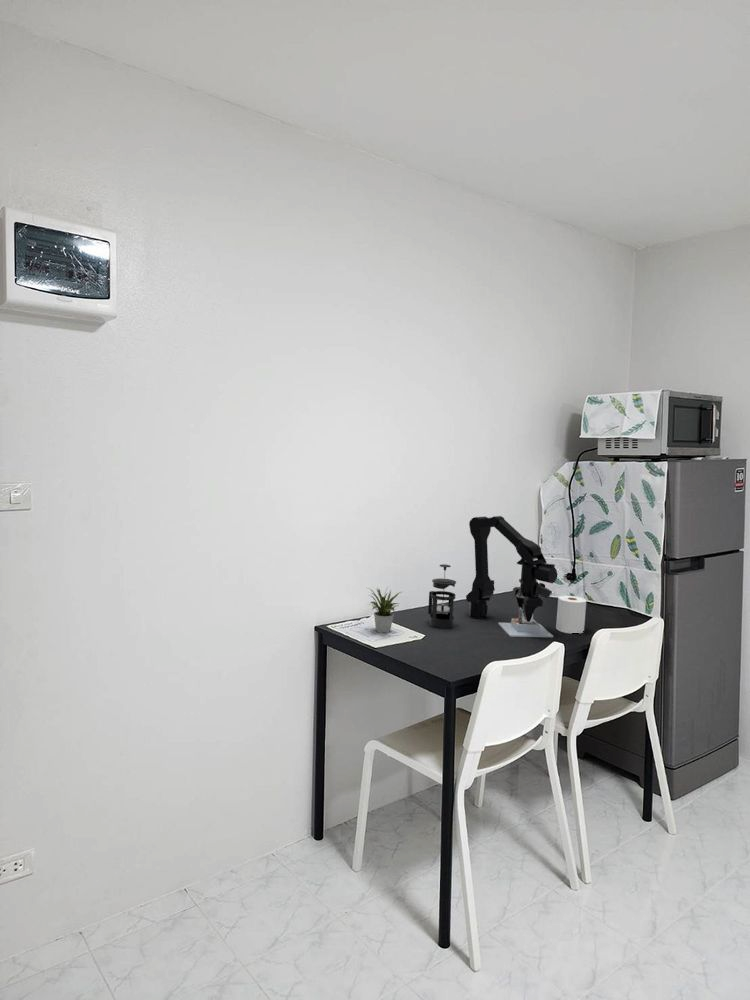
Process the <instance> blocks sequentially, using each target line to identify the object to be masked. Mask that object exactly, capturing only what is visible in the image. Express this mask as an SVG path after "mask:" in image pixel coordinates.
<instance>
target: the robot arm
mask: <svg viewBox="0 0 750 1000" xmlns="http://www.w3.org/2000/svg"><path fill="white" fill-rule="evenodd" d="M468 525H469V532H470V534H471V536H472V538H473V540H474V562H475V577H474V580H473V582H472V585H471V591H470V592H469V593H467V594H466V595H465V598H466V602H469V603H468V612H467V615H468V616H469V617H470V619H487V618H488V617H487V616H488V609H489V608H488V607H489V605H488V604H487V602H489V601H490V600H491V598H492V596H493V595H494V592H495V591H496V589H495V579H491V577H490V576H489V557H488V556H489V554H488V539H489V536H490V534H491V530H492V529H491V528H495V529H496V531H498V532H499V533H500V534H501V535H502V536H503V537H504V538H505V539H507V540H508V541H509V543H510V544H512V545H513V546H514V547H515V550H516V553H517V554H518V556H519V557H520V559H519V560H518V561H517V562H516V565H521V572H520V578H519V579H518V582H519V583H520V586H515V587H514V588H512V595H513V596H514V600H515V601H516V604H517V607H518V609H520V607H523V609H524V612H525V616H526V620H527V622H530V620H531V618H532V615H533V616H534V612H535V610H536V609H537V608H539V607H544V600H543V599H542V598H541V597H543V598H545V599H547V600H549V598H550V596H551V594H552V590H551V589H549V588H547V587H546V584H544V583H549V584H554V583H555V582H556V581H557V578H558V571H557V568H556V564H553V563H547V560H546V558H545V557H544V554H543V552H542V547H541V546H540V545H539V544H537V543H536V542H534V541H533V540H530V539H527V538H525V537H524V536H523V535H522V534H521V533H520V532H519V531H518V530H516V528H514V527H513V526H512V525H511V524H510V523H509V522H508V521H507V520H505V518H504V517H503V516H501V515H496V516H492V517H488V516H475V517H472V518H471V519H470V520H469V523H468ZM538 581H539V582H538ZM543 582H544V583H543ZM540 596H541V597H540Z"/></svg>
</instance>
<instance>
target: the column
mask: <svg viewBox="0 0 750 1000" xmlns="http://www.w3.org/2000/svg"><path fill="white" fill-rule="evenodd" d="M517 611H518V613H517V615H518V617H517V619H518V620H519V624H533V619H534V614H533V615H532V618H531V620H530V622H527V620H526V616H525V612H524V609H523V607H520V609H519V608H518V609H517Z"/></svg>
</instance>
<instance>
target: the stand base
mask: <svg viewBox="0 0 750 1000" xmlns="http://www.w3.org/2000/svg"><path fill="white" fill-rule="evenodd" d="M498 625H499V626H500V627H501V629H502V630H503V631H504V632H505V633H506V634H507V635H508V636H509V637H512V638H513V637H515V638H516V637H517V638H519V637H520V638H523V637H524V638H554V635H553V634H552V633H551V632H550V631H548V630H547V629H546V628H545V627H544V626H543V625H541V623H538V622H537V621H536V620H535V619H534V618H533V624H519V620H518V618H511V620H510V622H498Z"/></svg>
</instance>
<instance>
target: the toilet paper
mask: <svg viewBox="0 0 750 1000" xmlns="http://www.w3.org/2000/svg"><path fill="white" fill-rule="evenodd" d="M586 611H587V599H585V598H584V597H580V596H575V595H560V596H558V600H557V610H556V612H557V613H556V622H555V624H556V625H555V629H556V630H558V631H559V632H561V633H565V634H572V633H579V634H583V633H584V632H585V623H586ZM583 631H584V632H583Z"/></svg>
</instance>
